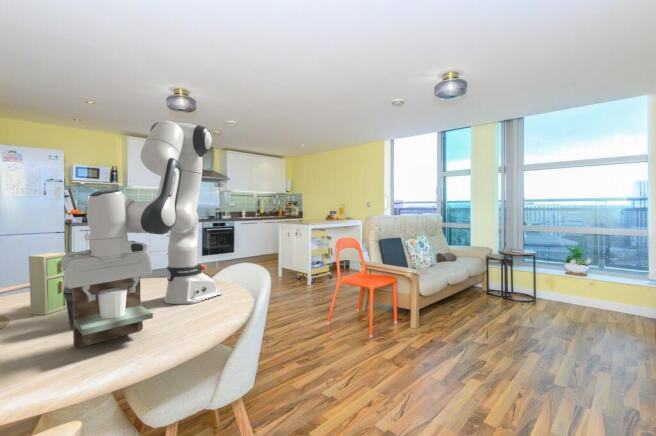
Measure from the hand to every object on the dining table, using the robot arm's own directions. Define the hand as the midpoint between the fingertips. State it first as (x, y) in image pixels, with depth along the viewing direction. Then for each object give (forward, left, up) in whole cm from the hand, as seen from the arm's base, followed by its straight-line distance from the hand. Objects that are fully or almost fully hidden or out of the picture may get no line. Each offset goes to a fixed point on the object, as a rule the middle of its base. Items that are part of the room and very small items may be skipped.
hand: (112, 296), depth 86 cm
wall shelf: (0, 0, -13) cm, 13 cm away
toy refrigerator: (+8, -48, -14) cm, 50 cm away
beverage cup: (+4, -22, -14) cm, 26 cm away
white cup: (0, 0, -6) cm, 6 cm away
